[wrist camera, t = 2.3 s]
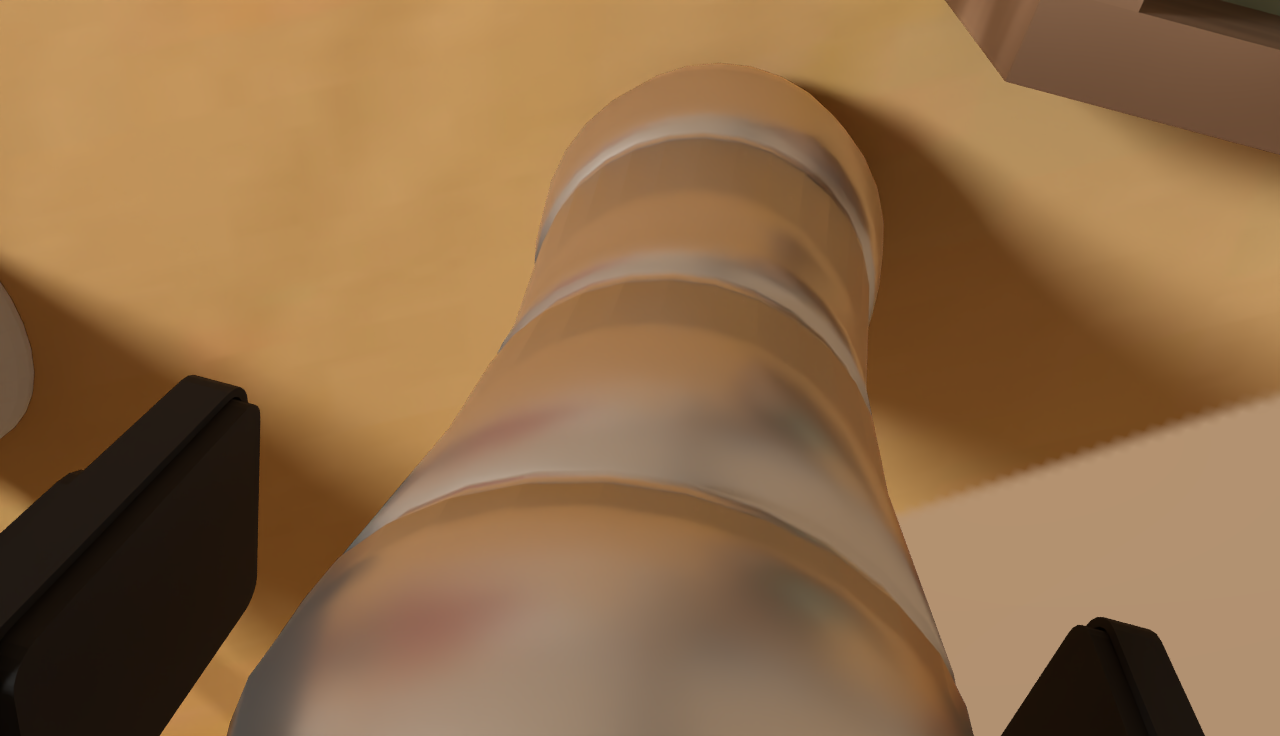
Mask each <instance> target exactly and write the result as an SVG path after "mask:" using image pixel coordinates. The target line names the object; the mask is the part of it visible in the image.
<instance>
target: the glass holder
mask: <svg viewBox="0 0 1280 736" xmlns="http://www.w3.org/2000/svg"><path fill="white" fill-rule="evenodd" d="M33 381H34V367H33V359H32V351H31V347H30V344H29V340H28V337H27V334H26V331H25V327H24V324H23V322H22V320H21V318H20V316H19V314H18V312H17V310H16V308H15V306H14V304H13V302H12V300H11V298H10V296H9V295H8V293H7V292H6V290H5V289H4V287H3V286H2V284H1V283H0V438H2V437H3V436H4V435H6V434H7V433H8V432H9V431H11V430H12V429H13V428H14V427H15V426H16V425H17V424H18V422H19V421H20V419H21V418H22V417H23V415H24V414H25V413H26V410H27V407H28V405H29V402H30V399H31V396H32V392H33Z"/></svg>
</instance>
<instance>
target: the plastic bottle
mask: <svg viewBox="0 0 1280 736" xmlns="http://www.w3.org/2000/svg"><path fill="white" fill-rule="evenodd" d="M883 234H884V220H883V215H882V209H881V204H880V198H879V193H878V188H877V186H876V183H875V181H874V179H873V176H872V174H871V171H870V169H869V167H868V164H867V162H866V159H865V157H864V156H863V154H862V153H861V151H860V150H859V148H858V147H857V146H856V144H855V143H854V141H853V140H852V138H851V137H850V136H849V134H848V133H847V131H846V130H845V128H844V127H843V126H842V125H841V124H840V123H839V121H838V120H837V119H836V118H835V117H834V116H833V115H832V114H831V113H830V112H829V111H828V110H827V109H826V108H825V107H824V106H823V105H822V104H821V103H819V102H818V101H817V100H816V99H815V98H814V97H813V96H812V95H811V94H810V93H808V92H807V91H805V90H803V89H802V88H800V87H798V86H797V85H795V84H793V83H791V82H790V81H788V80H786V79H785V78H783V77H781V76H778V75H775V74H772V73H769V72H766V71H763V70H760V69H757V68H754V67H751V66H742V65H733V64H725V63H714V64H703V65H692V66H686V67H683V68H679V69H676V70H673V71H670V72H667V73H663V74H660V75H657V76H655V77H654V78H652V79H650V80H648V81H646V82H644V83H643V84H641V85H639V86H637V87H635V88H634V89H632V90H630V91H628V92H627V93H625V94H623V95H621V96H620V97H618V98H616V99H614V100H613V101H611V102H610V103H609V104H608V105H607V106H606V107H604V108H603V109H602V110H601V111H600V112H599V113H598V114H596V115H595V116H594V117H593V118H592V119H591V120H589V121H588V122H587V123H586V124H585V126H584V127H583V128H582V129H581V131H580V132H579V133H578V135H577V136H576V137H575V139H574V140H573V141H572V143H571V144H570V145H569V147H568V148H567V149H566V151H565V153H564V155H563V157H562V159H561V161H560V163H559V165H558V167H557V170H556V172H555V174H554V176H553V178H552V180H551V184H550V188H549V192H548V196H547V199H546V203H545V207H544V211H543V215H542V219H541V223H540V228H539V232H538V236H537V240H536V252H535V266H534V269H533V272H532V275H531V278H530V281H529V284H528V286H527V289H526V292H525V295H524V298H523V301H522V304H521V307H520V310H519V313H518V316H517V318H516V321H515V324H514V326H513V328H512V329H511V331H510V333H509V334H508V336H507V337H506V339H505V340H504V342H503V344H502V346H501V348H500V350H499V352H498V354H497V355H496V357H495V358H494V359H493V360H492V361H491V363H490V364H489V366H488V367H487V369H486V370H485V372H484V373H483V375H482V377H481V378H480V380H479V381H478V383H477V385H476V386H475V388H474V389H473V391H472V392H471V394H470V396H469V397H468V399H467V400H466V402H465V404H464V405H463V407H462V408H461V410H460V411H459V413H458V415H457V416H456V418H455V419H454V421H453V423H452V424H451V426H450V427H449V429H448V430H447V431H446V432H445V433H444V435H443V436H442V437H441V438H440V439H439V441H438V442H437V443H436V444H435V445H434V446H433V448H432V449H431V450H430V451H429V452H428V454H427V455H426V456H425V457H424V458H423V460H422V461H421V462H420V463H419V464H418V465H417V467H416V468H415V469H414V470H413V471H412V473H411V474H410V475H409V476H408V477H407V478H406V480H405V481H404V482H403V483H402V484H401V486H400V487H399V488H398V489H397V490H396V492H395V493H394V494H393V495H392V496H391V497H390V499H389V500H388V501H387V502H386V503H385V505H384V506H383V507H382V508H381V509H380V510H379V512H378V513H377V514H376V515H375V516H374V518H373V519H372V520H371V521H370V522H369V524H368V525H367V526H366V527H365V528H364V529H363V531H362V532H361V533H360V534H359V535H358V537H357V538H356V539H355V540H354V541H353V543H352V544H351V545H350V546H349V547H348V548H347V550H346V551H345V552H344V553H343V554H342V556H340V557H339V558H338V559H337V560H336V561H335V562H334V564H333V565H332V566H331V567H330V568H329V570H328V571H327V572H326V573H325V574H324V576H323V577H322V578H321V579H320V580H319V582H318V583H317V584H316V585H315V586H314V588H313V589H312V590H311V591H310V592H309V593H308V595H307V596H306V597H305V598H304V600H303V601H302V603H301V604H300V606H299V607H298V608H297V610H296V611H295V613H294V614H293V616H292V617H291V619H290V620H289V622H288V623H287V624H286V626H285V627H284V629H283V630H282V632H281V633H280V635H279V636H278V638H277V639H276V640H275V642H274V643H273V644H272V646H271V647H270V649H269V650H268V651H267V653H266V654H265V655H264V657H263V658H262V659H261V661H260V662H259V664H258V665H257V666H256V668H255V669H254V670H253V672H252V673H251V675H250V676H249V678H248V680H247V682H246V685H245V687H244V690H243V692H242V695H241V697H240V699H239V702H238V704H237V707H236V709H235V712H234V714H233V716H232V719H231V721H230V725H229V729H228V732H227V736H974V735H973V731H972V727H971V723H970V719H969V715H968V711H967V707H966V705H965V703H964V701H963V699H962V697H961V695H960V693H959V691H958V689H957V687H956V684H955V679H954V674H953V671H952V668H951V666H950V663H949V660H948V657H947V654H946V652H945V649H944V646H943V643H942V641H941V638H940V635H939V632H938V630H937V627H936V624H935V621H934V619H933V616H932V613H931V610H930V608H929V605H928V602H927V600H926V597H925V594H924V591H923V589H922V586H921V583H920V580H919V577H918V575H917V572H916V569H915V566H914V564H913V561H912V558H911V555H910V553H909V550H908V547H907V545H906V542H905V539H904V536H903V533H902V531H901V528H900V525H899V522H898V520H897V517H896V514H895V511H894V509H893V506H892V503H891V500H890V498H889V495H888V490H887V486H886V481H885V476H884V471H883V466H882V461H881V457H880V452H879V447H878V442H877V437H876V433H875V428H874V423H873V418H872V413H871V409H870V404H869V399H868V394H867V390H866V386H867V354H868V328H869V324H870V321H871V318H872V314H873V310H874V306H875V302H876V298H877V294H878V290H879V285H880V276H881V267H882V258H883Z"/></svg>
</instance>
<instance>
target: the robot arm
mask: <svg viewBox="0 0 1280 736" xmlns="http://www.w3.org/2000/svg"><path fill="white" fill-rule="evenodd" d="M259 456H260V410H259V408H258V406H256V405H254V404H250V403H248V400H247V394H246V392H245V390H244V389H242V388H241V387H237V386H234V385H230V384H226V383H222V382H219V381H215V380H211V379H207V378H204V377H200V376H196V375H190V376H187V377H186V378H184V379H183V380H181V381H180V382H179V383H178V384H177V385H176V386H175V387H174V388H173V389H172V390H170V391H169V392H168V393H167V394H166V395H165V396H164V397H163V398H162V399H161V400H160V401H159V402H157V403H156V404H155V405H154V406H153V407H152V408H151V409H150V410H149V411H148V412H147V413H146V414H144V415H143V416H142V417H141V418H140V419H139V420H138V421H137V422H136V423H135V424H134V425H133V426H131V427H130V428H129V429H128V430H127V431H126V432H125V433H124V434H123V435H122V436H121V437H120V438H118V439H117V440H116V441H115V442H114V443H113V444H112V445H111V446H110V447H109V448H108V449H107V450H105V451H104V452H103V453H102V454H101V455H100V456H99V457H98V458H97V459H96V460H95V461H94V462H92V463H91V464H90V465H89V466H88V467H87V468H86V469H85V470H79V471H75V472H72V473H69V474H68V475H66V476H65V477H63V478H62V479H61V480H59V481H58V482H57V483H55V484H54V485H53V486H52V487H51V488H50V489H49V490H48V491H47V492H45V493H44V494H43V495H42V496H41V497H40V498H39V499H38V500H37V501H36V502H34V503H33V504H32V505H31V506H30V507H29V508H28V509H27V510H26V511H24V512H23V513H22V514H21V515H20V516H19V517H18V518H17V519H16V520H15V521H13V522H12V523H11V524H10V525H9V526H8V527H7V528H6V529H5V530H4V531H2V532H1V533H0V736H160V734H161V733H162V731H163V730H164V728H165V727H166V725H167V724H168V722H169V721H170V720H171V718H172V717H173V715H174V714H175V712H176V711H177V709H178V708H179V706H180V705H181V703H182V702H183V701H184V699H185V698H186V696H187V695H188V693H189V692H190V690H191V689H192V687H193V686H194V684H195V683H196V682H197V680H198V679H199V677H200V676H201V674H202V673H203V671H204V670H205V668H206V667H207V666H208V664H209V663H210V661H211V660H212V658H213V657H214V655H215V654H216V652H217V651H218V649H219V648H220V647H221V645H222V644H223V642H224V641H225V639H226V638H227V636H228V635H229V633H230V632H231V630H232V629H233V628H234V626H235V625H236V623H237V622H238V620H239V619H240V617H241V616H242V614H243V613H244V611H245V610H246V608H247V606H248V605H249V602H250V600H251V598H252V595H253V592H254V589H255V585H256V580H257V548H258V502H259ZM1001 736H1205V735H1204V733H1203V731H1202V729H1201V726H1200V724H1199V722H1198V720H1197V718H1196V716H1195V713H1194V711H1193V709H1192V707H1191V705H1190V702H1189V700H1188V698H1187V696H1186V694H1185V692H1184V689H1183V688H1182V685H1181V683H1180V681H1179V679H1178V676H1177V675H1176V673H1175V670H1174V668H1173V666H1172V663H1171V661H1170V659H1169V657H1168V655H1167V653H1166V650H1165V648H1164V646H1163V644H1162V642H1161V640H1160V639H1159V637H1158V636H1157V634H1156V633H1154V632H1153V631H1151V630H1149V629H1146V628H1141V627H1138V626H1134V625H1131V624H1127V623H1123V622H1119V621H1116V620H1112V619H1108V618H1104V617H1097V618H1095V619H1093V620H1091V621H1090V622H1089V623H1088V624H1087V626H1083V625H1077V626H1075V627H1073V628H1072V630H1071V631H1070V632H1069V633H1068V635H1067V636H1066V638H1065V640H1064V641H1063V642H1062V644H1061V645H1060V647H1059V648H1058V650H1057V651H1056V653H1055V654H1054V656H1053V658H1052V659H1051V661H1050V662H1049V664H1048V665H1047V667H1046V668H1045V670H1044V671H1043V673H1042V674H1041V676H1040V677H1039V679H1038V680H1037V682H1036V683H1035V685H1034V686H1033V688H1032V689H1031V691H1030V693H1029V694H1028V696H1027V697H1026V699H1025V700H1024V702H1023V703H1022V705H1021V706H1020V708H1019V709H1018V711H1017V712H1016V714H1015V715H1014V717H1013V719H1012V720H1011V722H1010V723H1009V724H1008V726H1007V727H1006V729H1005V730H1004V732H1003V734H1002V735H1001Z"/></svg>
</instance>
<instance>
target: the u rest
mask: <svg viewBox="0 0 1280 736" xmlns="http://www.w3.org/2000/svg"><path fill="white" fill-rule="evenodd" d="M945 1H946V2H947V4H948V5H949V6H950V8H951V9H952V10H953V12H954V13H955V14H956V16H957V17H958V18H959V20H960V21H961V22H962V24H963V25H964V26H965V28H966V29H967V31H968V32H969V33H970V35H971V36H972V37H973V39H974V40H975V41H976V43H977V44H978V45H979V47H980V48H981V49H982V51H983V52H984V53H985V55H986V56H987V58H988V59H989V60H990V62H991V63H992V64H993V66H994V67H995V68H996V70H997V71H998V72H999V74H1000V75H1001V76H1002V78H1003V79H1004V80H1005V81H1006V82H1009V83H1013V84H1017V85H1021V86H1024V87H1028V88H1032V89H1036V90H1039V91H1043V92H1047V93H1051V94H1054V95H1058V96H1062V97H1066V98H1069V99H1073V100H1077V101H1081V102H1084V103H1088V104H1092V105H1096V106H1099V107H1103V108H1107V109H1111V110H1114V111H1118V112H1122V113H1126V114H1129V115H1133V116H1137V117H1141V118H1144V119H1148V120H1152V121H1156V122H1159V123H1163V124H1167V125H1170V126H1174V127H1178V128H1182V129H1185V130H1189V131H1193V132H1197V133H1200V134H1204V135H1208V136H1212V137H1215V138H1219V139H1223V140H1227V141H1230V142H1234V143H1238V144H1242V145H1245V146H1249V147H1253V148H1257V149H1260V150H1264V151H1268V152H1272V153H1275V154H1279V155H1280V0H945Z"/></svg>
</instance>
